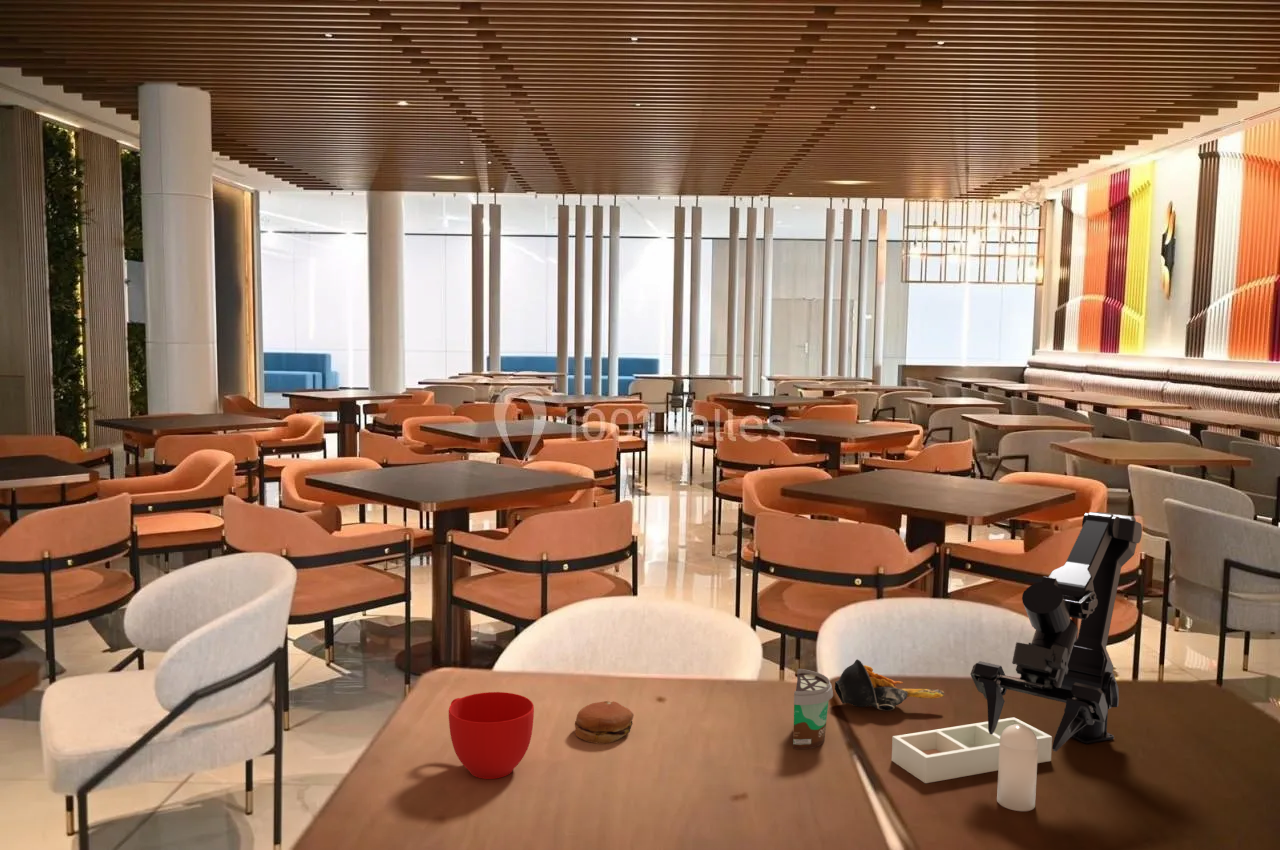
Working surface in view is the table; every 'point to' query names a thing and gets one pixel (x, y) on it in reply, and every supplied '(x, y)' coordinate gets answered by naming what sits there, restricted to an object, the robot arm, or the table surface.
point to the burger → (603, 722)
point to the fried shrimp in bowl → (875, 689)
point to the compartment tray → (958, 750)
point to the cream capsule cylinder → (1017, 768)
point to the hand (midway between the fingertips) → (1021, 741)
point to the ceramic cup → (491, 732)
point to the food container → (810, 709)
